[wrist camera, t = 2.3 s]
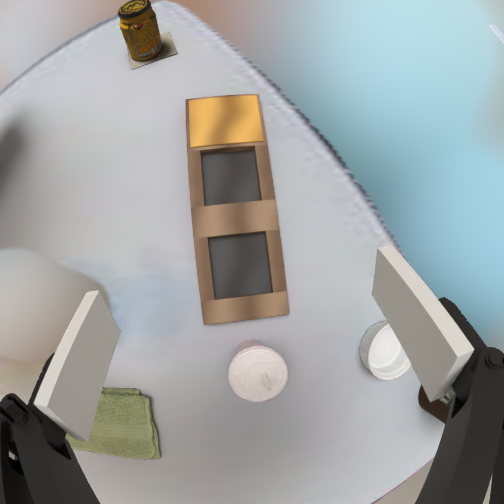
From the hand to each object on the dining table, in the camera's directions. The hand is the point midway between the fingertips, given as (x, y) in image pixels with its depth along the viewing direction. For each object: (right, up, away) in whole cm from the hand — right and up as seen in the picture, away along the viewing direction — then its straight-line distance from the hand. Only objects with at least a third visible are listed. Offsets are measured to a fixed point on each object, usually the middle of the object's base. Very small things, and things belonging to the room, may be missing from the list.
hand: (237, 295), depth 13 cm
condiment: (-18, +38, +27) cm, 50 cm away
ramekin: (+20, -13, +27) cm, 36 cm away
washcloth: (-22, -24, +22) cm, 40 cm away
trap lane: (-2, +9, +26) cm, 28 cm away
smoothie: (0, -12, +25) cm, 28 cm away
